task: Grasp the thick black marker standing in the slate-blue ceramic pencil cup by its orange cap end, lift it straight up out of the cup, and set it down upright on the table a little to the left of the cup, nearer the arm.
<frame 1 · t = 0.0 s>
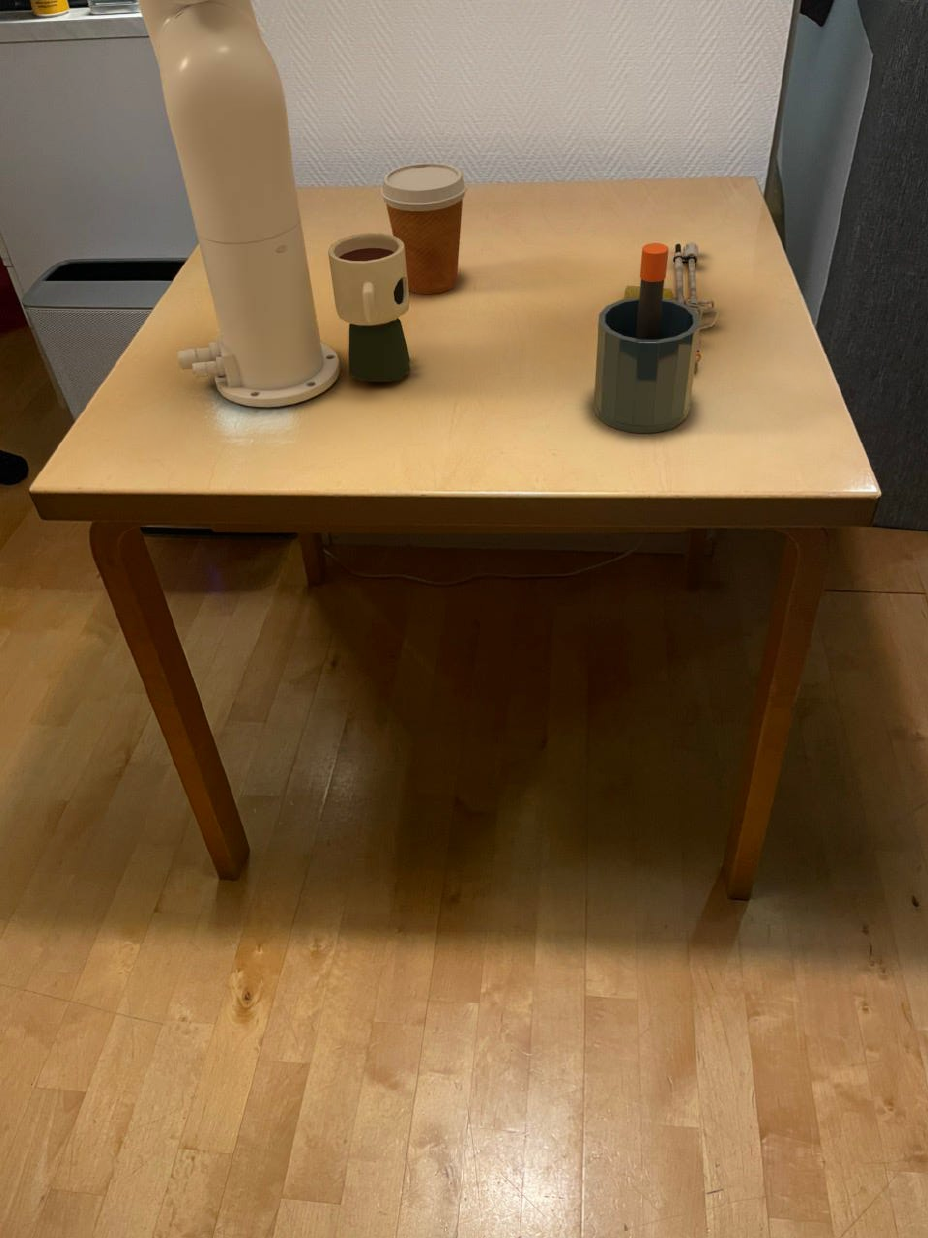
character mug: (380, 375, 99), on the table
disposable coffee cup: (430, 284, 114), on the table
flamethrower: (669, 310, 106), on the table
pencil cup: (640, 408, 92), on the table
marker: (641, 400, 91), point 1 cm above the table, touching pencil cup
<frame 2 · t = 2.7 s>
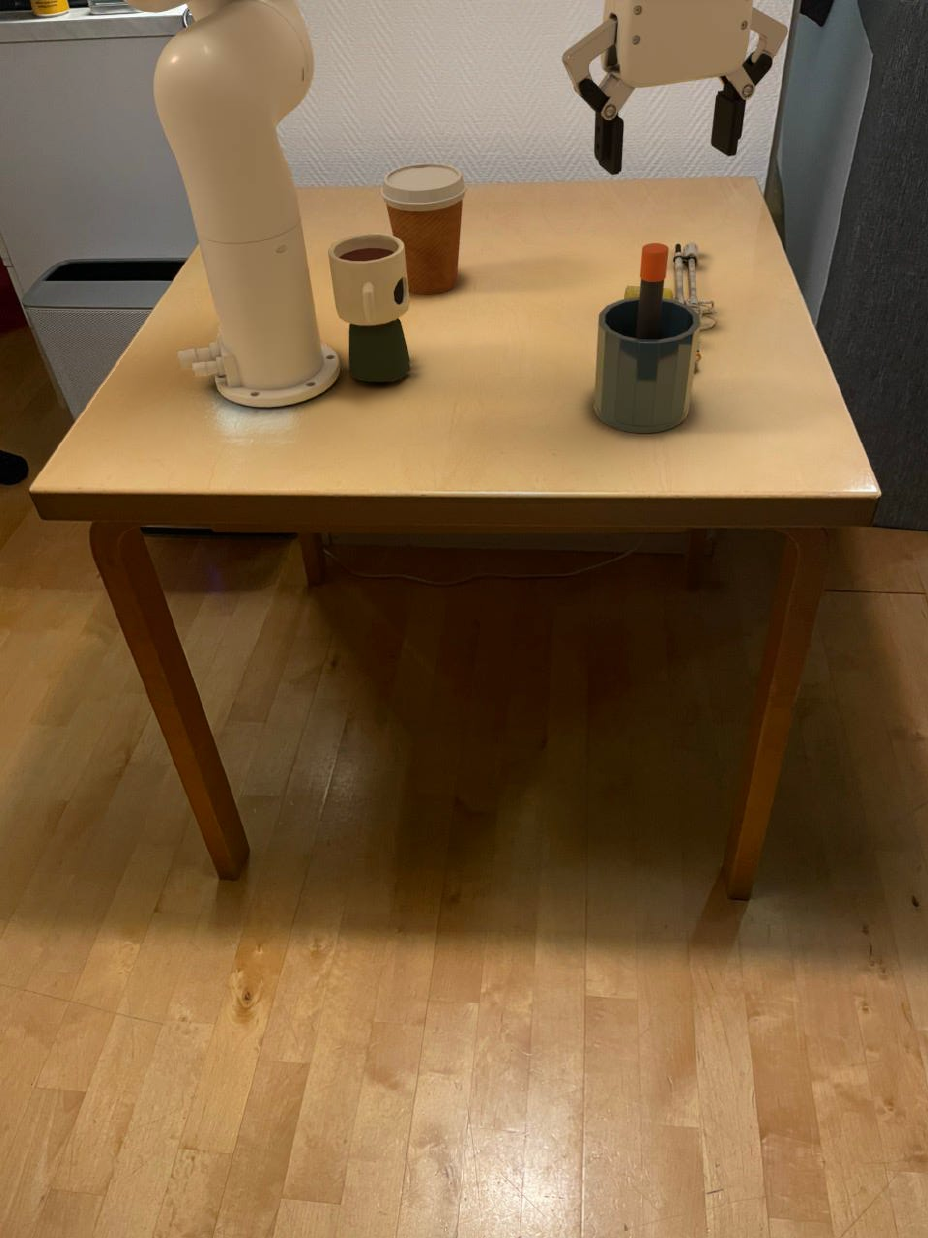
hand: (666, 159, 76), 22 cm above the table, tool pointing down, fingers open, 9 cm apart
nothing on the table moved.
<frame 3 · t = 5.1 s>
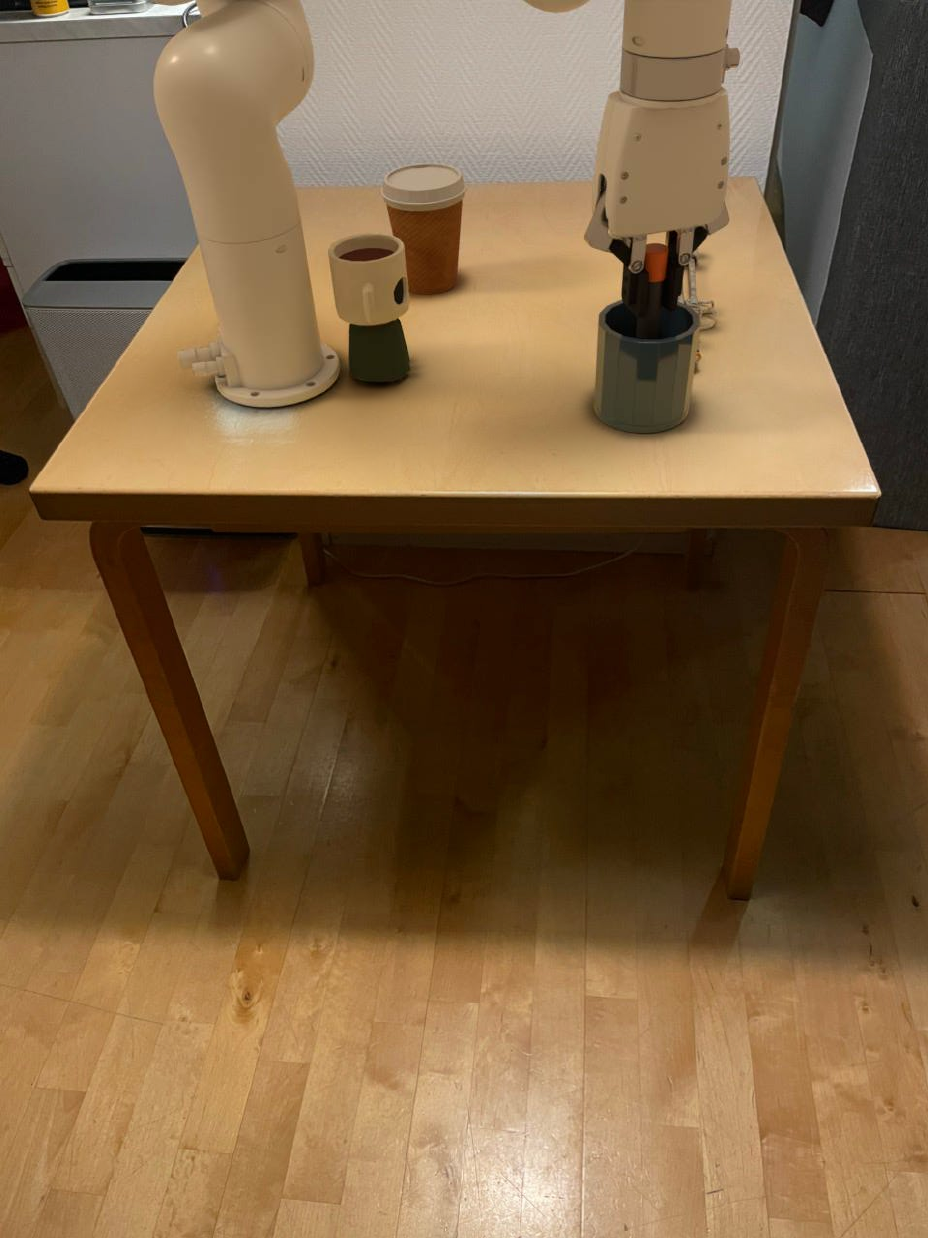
hand: (650, 306, 85), 10 cm above the table, tool pointing down, fingers closed on marker, 2 cm apart
marker: (641, 400, 91), point 1 cm above the table, touching gripper, pencil cup
everything else where it was.
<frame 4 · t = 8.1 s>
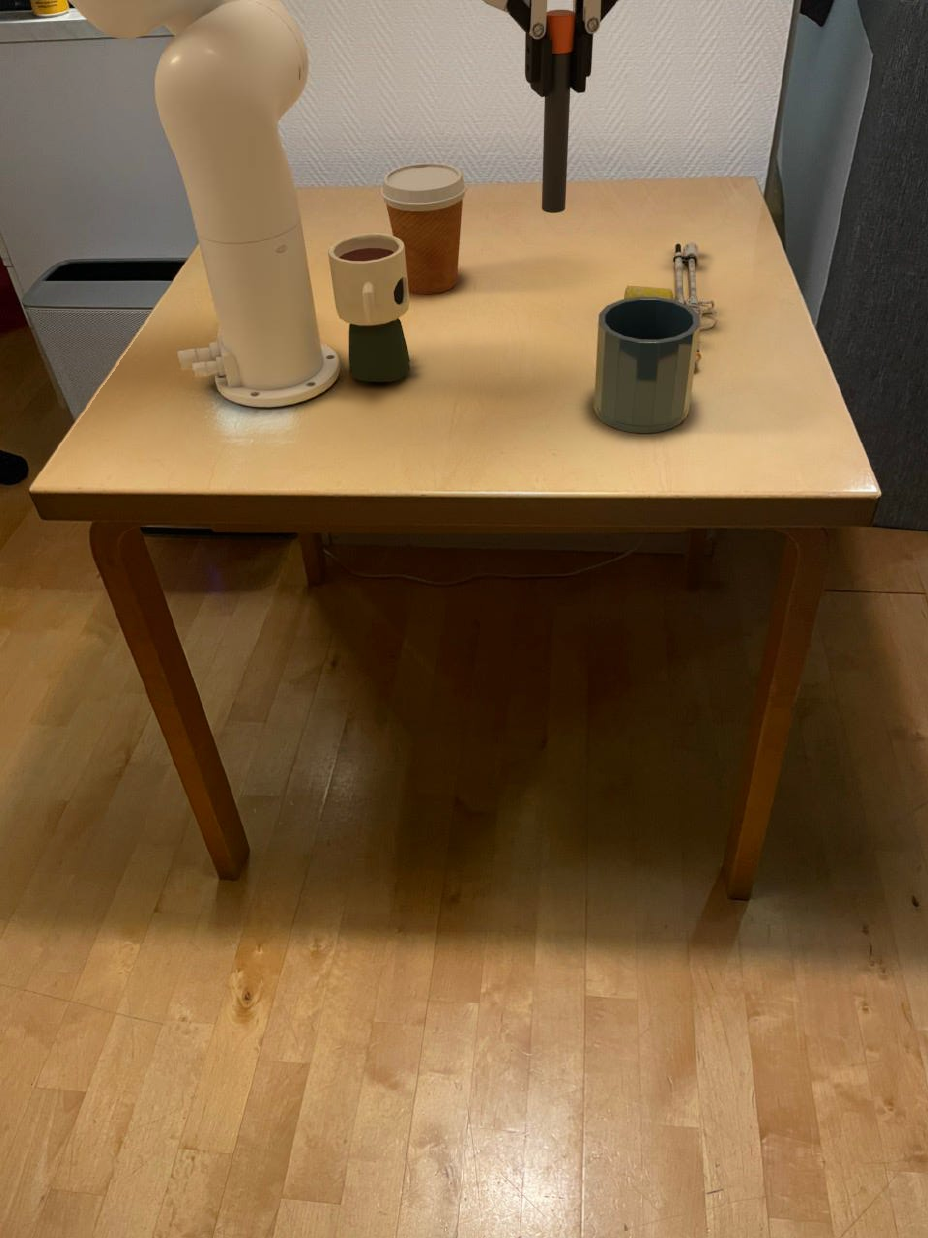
hand: (557, 87, 76), 27 cm above the table, tool pointing down, fingers closed on marker
marker: (553, 208, 83), point 17 cm above the table, touching gripper
everything else where it was.
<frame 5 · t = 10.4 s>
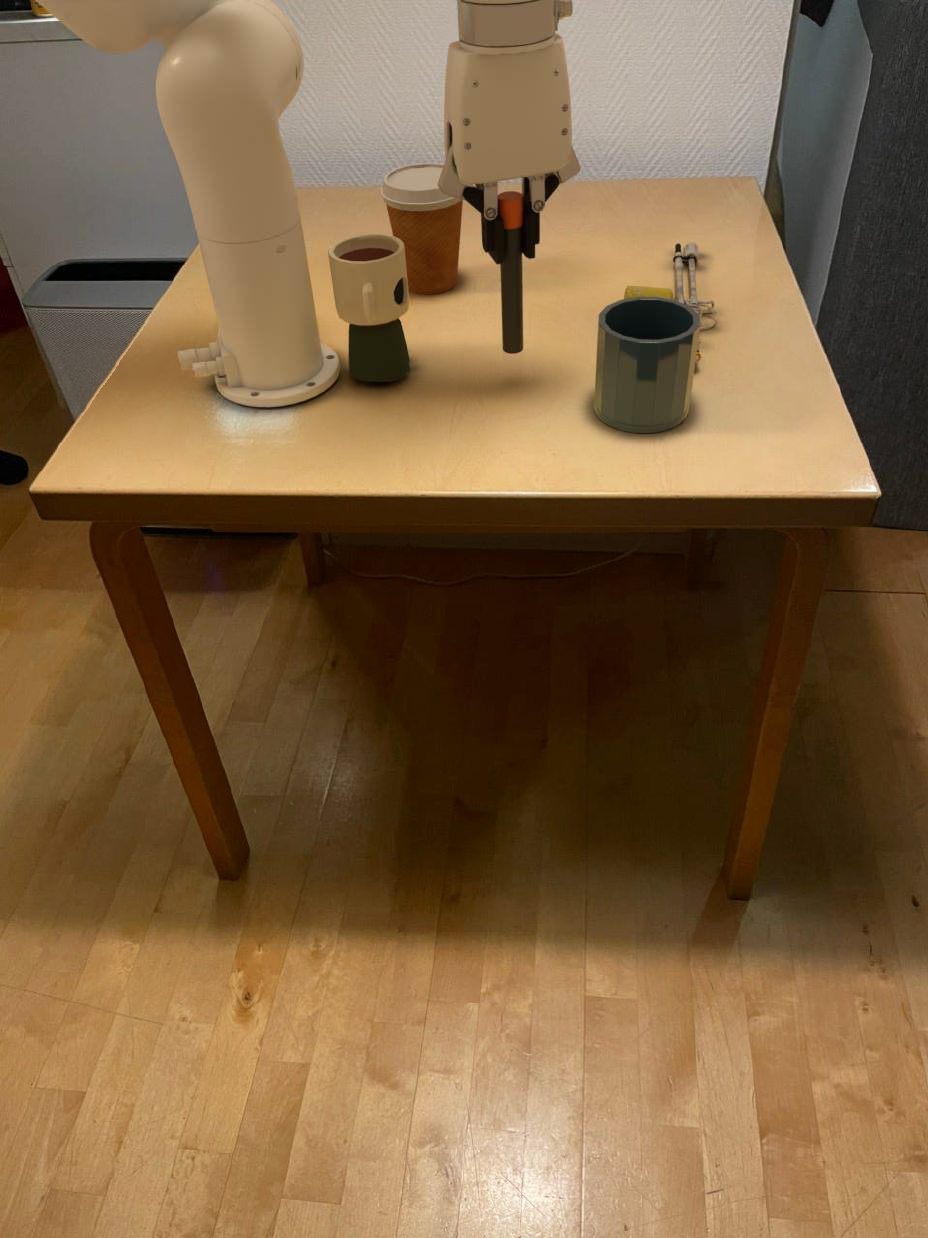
hand: (511, 253, 88), 13 cm above the table, tool pointing down, fingers closed on marker, 2 cm apart
marker: (513, 349, 94), point 3 cm above the table, touching gripper
everything else where it was.
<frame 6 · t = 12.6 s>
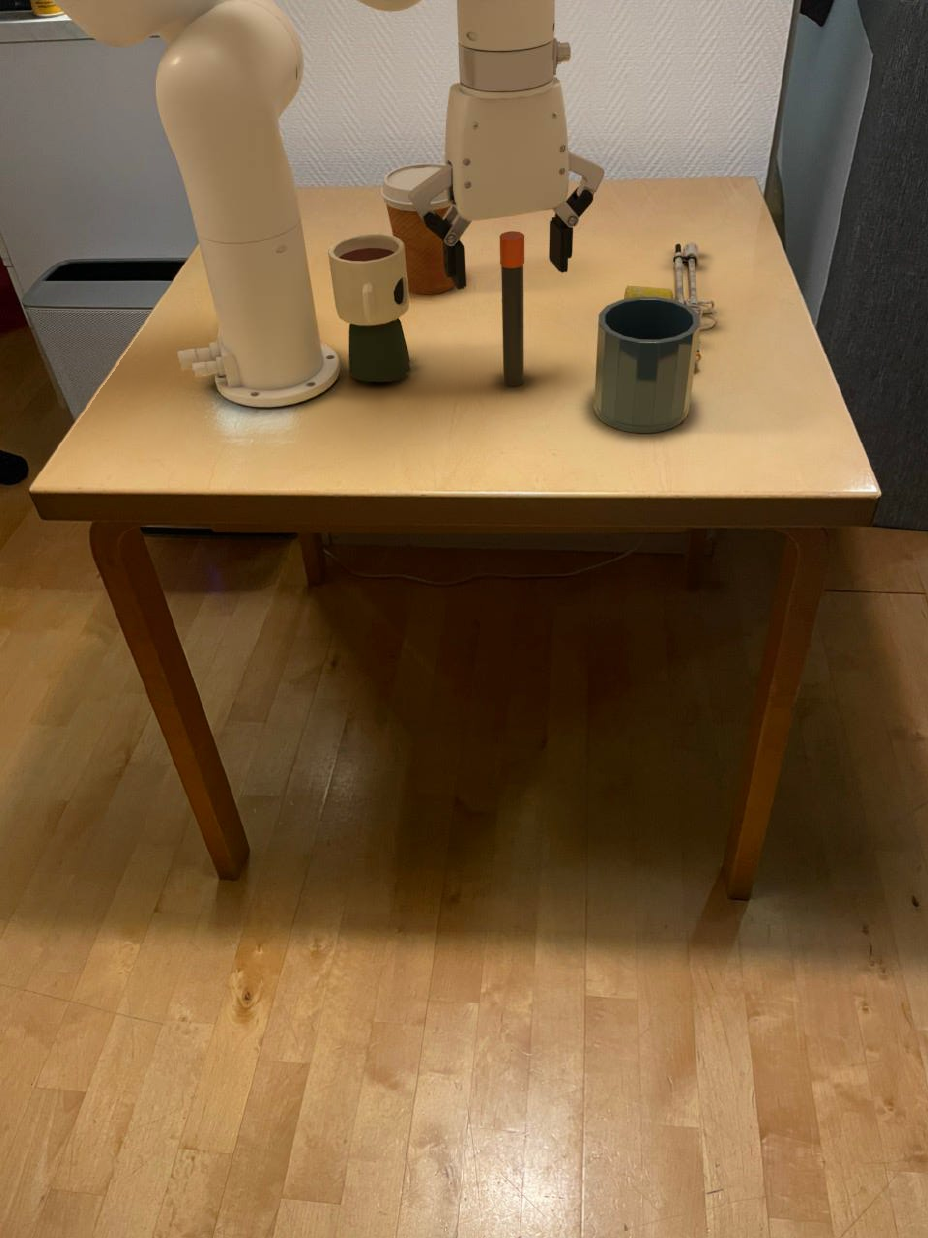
hand: (508, 274, 89), 11 cm above the table, tool pointing down, fingers open, 9 cm apart
marker: (513, 381, 96), on the table
everything else where it was.
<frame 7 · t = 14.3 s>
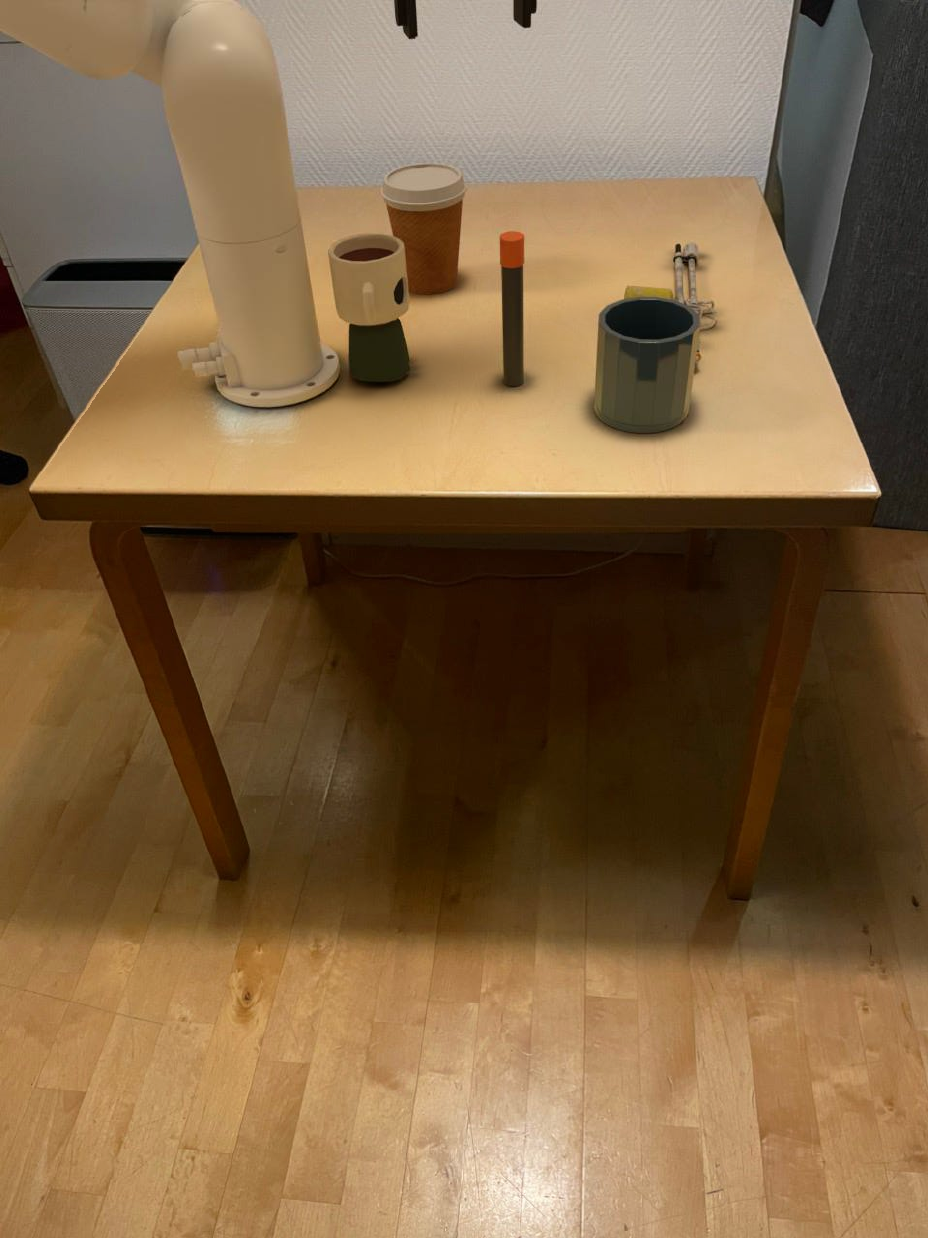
hand: (466, 29, 81), 29 cm above the table, tool pointing down, fingers open, 9 cm apart
nothing on the table moved.
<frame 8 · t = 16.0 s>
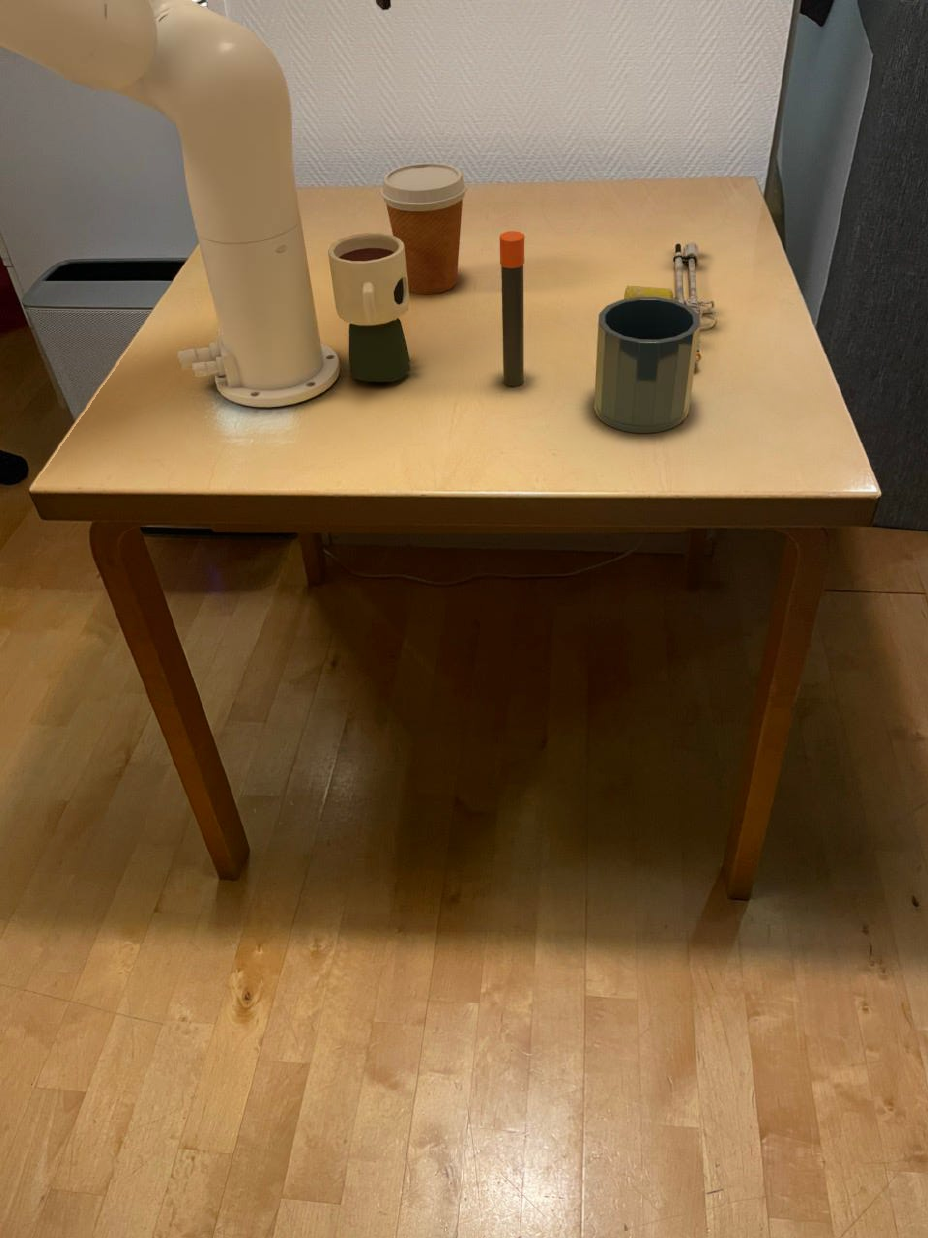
hand: (436, 0, 85), 30 cm above the table, tool pointing down, fingers open, 9 cm apart
nothing on the table moved.
at the end: marker inside the target area (0.2 cm from its centre), on the table; the gripper is holding nothing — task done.
